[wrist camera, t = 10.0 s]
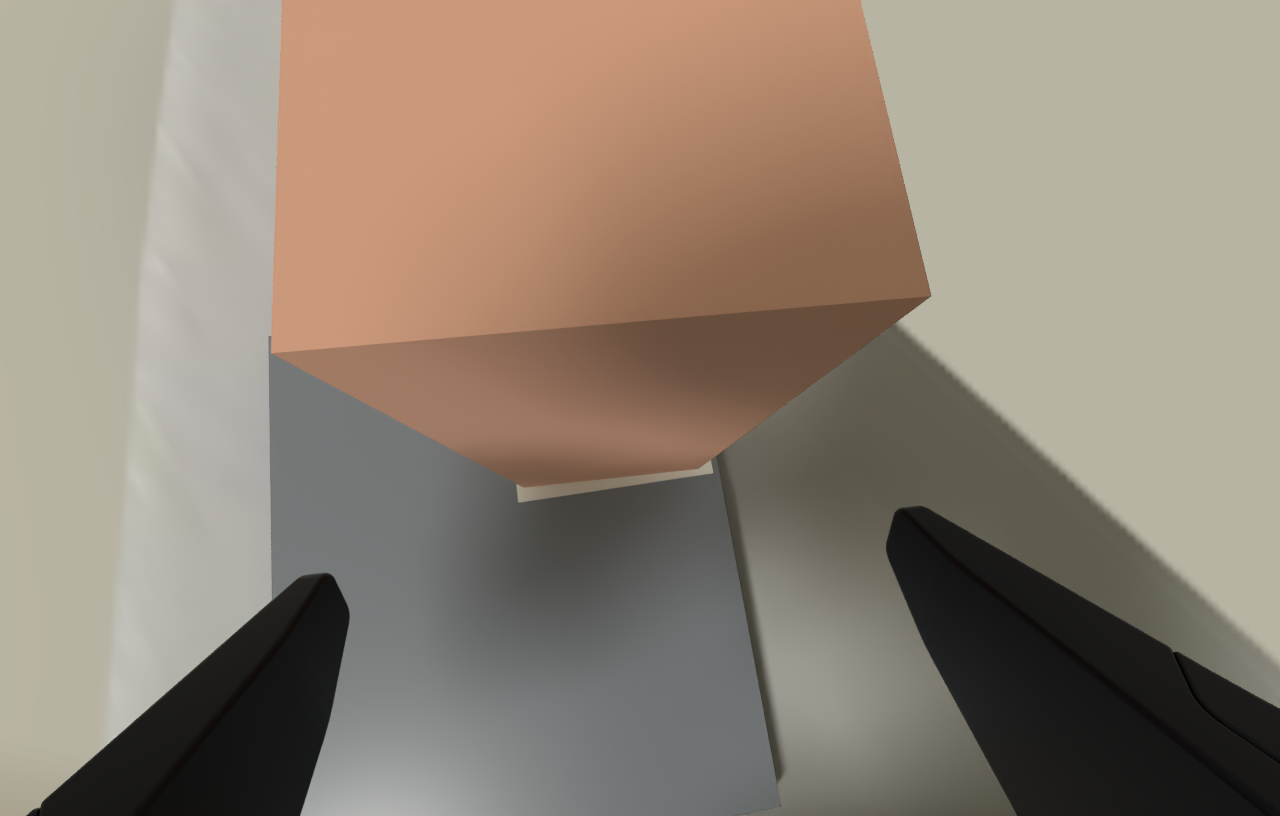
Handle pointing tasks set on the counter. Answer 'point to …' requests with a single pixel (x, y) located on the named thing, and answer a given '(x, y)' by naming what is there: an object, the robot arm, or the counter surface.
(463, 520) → the baseplate
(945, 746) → the counter surface
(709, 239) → the column
